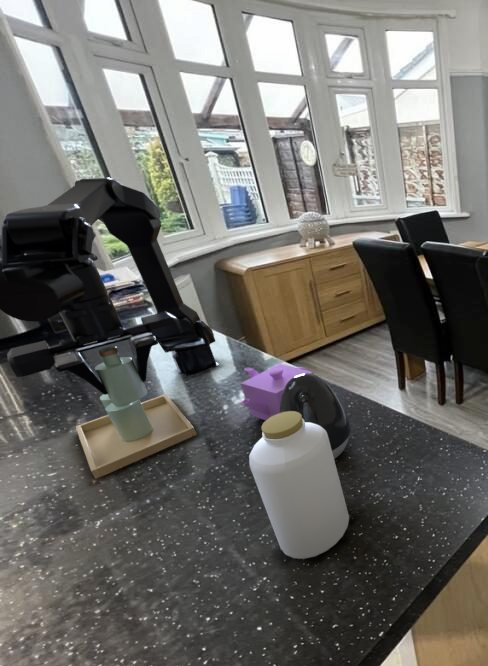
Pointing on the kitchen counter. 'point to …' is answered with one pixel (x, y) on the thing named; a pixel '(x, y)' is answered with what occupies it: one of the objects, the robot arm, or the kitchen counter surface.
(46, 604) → the kitchen counter surface
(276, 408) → the teapot
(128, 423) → the row bottle
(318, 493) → the white jar with lid
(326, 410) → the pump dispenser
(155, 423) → the tray
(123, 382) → the loose bottle
